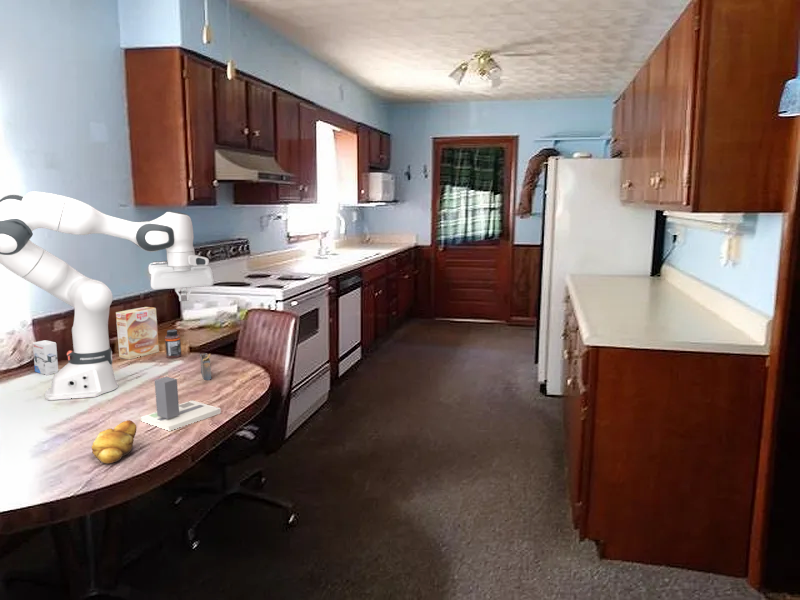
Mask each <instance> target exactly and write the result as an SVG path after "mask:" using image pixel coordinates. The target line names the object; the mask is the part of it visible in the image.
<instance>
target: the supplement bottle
mask: <svg viewBox="0 0 800 600" xmlns="http://www.w3.org/2000/svg"><path fill="white" fill-rule="evenodd" d="M164 341H165V342H164V343H165V355H166V358H168V359H177V358H180V357H181V356H182V346H181V344H182V343H181V336H180V335H179V334H178V330H177V329H167V331H166V335H165V336H164Z"/></svg>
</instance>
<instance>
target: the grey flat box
mask: <svg viewBox="0 0 800 600" xmlns="http://www.w3.org/2000/svg"><path fill="white" fill-rule="evenodd" d="M211 357H212V355H211V353H209V354H208V353H200V354H199V358H200V359H199V360H200V373H201V376H202V379H204V380H207V381H211V380H212V371H211V369H212V368H211V360H210V358H211ZM210 379H211V380H210ZM204 380H203V381H204Z"/></svg>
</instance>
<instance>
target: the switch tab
mask: <svg viewBox="0 0 800 600" xmlns="http://www.w3.org/2000/svg"><path fill="white" fill-rule="evenodd" d="M154 390H155V391H154V392H155V401H156V402H155V405H156V412H157V416H160V417H163V418H166V419H169V418H172V417H175V416H178V415H179V404H180V403H179V390H178V379H177V378H174V377H170V376H164V377H160V378H156V379H154Z"/></svg>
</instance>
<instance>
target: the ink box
mask: <svg viewBox="0 0 800 600" xmlns="http://www.w3.org/2000/svg"><path fill="white" fill-rule="evenodd" d="M57 350H58V349H57V343H56V342H55V341H51V340H46V339H45V340H39V341H35V342H34V341H33V342H32V352H33V361H34V372H35V373H39V374H40V375H44V374H45V376H49V375H53V373H54V374H56V373H57V372H58V371H59V362H58V351H57Z"/></svg>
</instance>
